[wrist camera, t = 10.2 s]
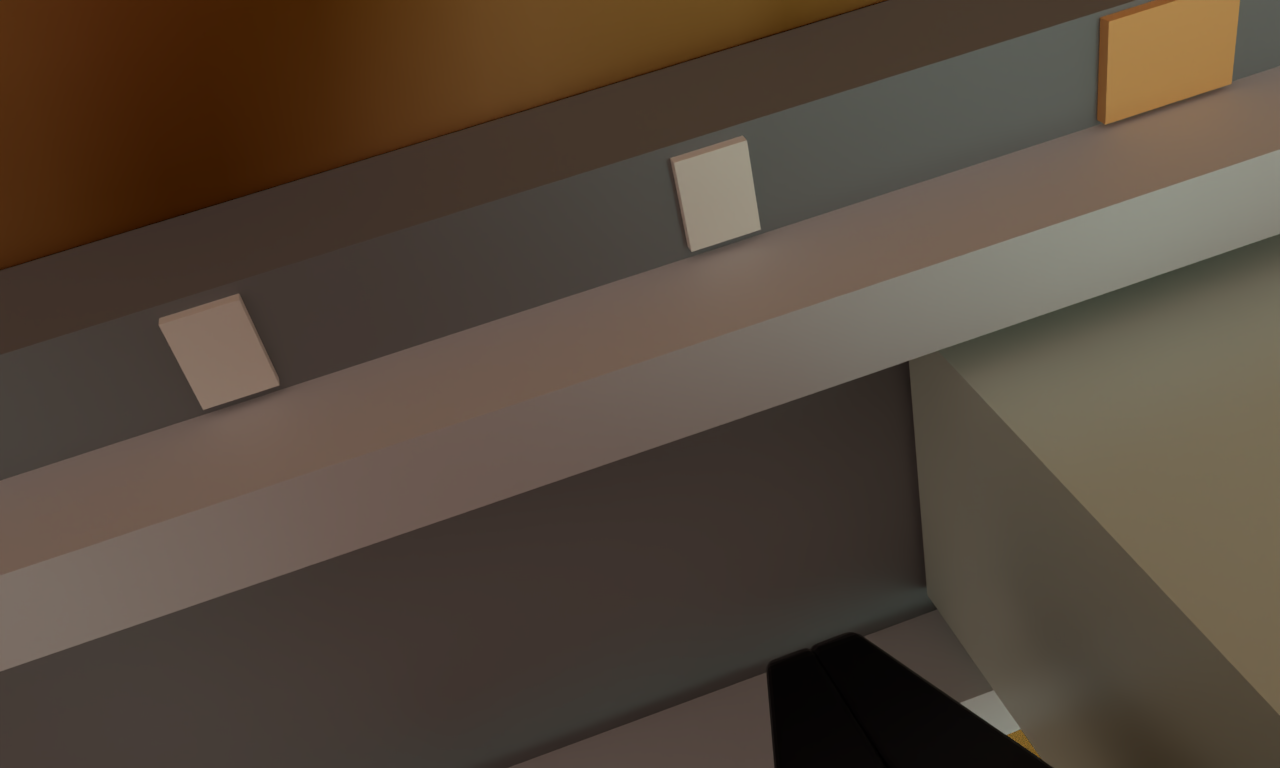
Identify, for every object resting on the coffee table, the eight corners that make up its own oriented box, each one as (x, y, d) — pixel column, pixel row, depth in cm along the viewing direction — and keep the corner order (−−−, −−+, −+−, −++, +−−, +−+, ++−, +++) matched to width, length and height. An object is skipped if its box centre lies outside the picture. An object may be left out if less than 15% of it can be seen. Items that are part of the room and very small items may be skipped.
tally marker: (1259, 472, 13) (1711, 856, 9) (927, 595, 13) (1248, 1055, 9) (1302, 182, 11) (1913, 515, 7) (905, 316, 11) (1316, 755, 7)
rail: (1994, 217, 17) (2247, 307, 15) (-114, 994, 14) (-178, 1254, 12) (2349, -445, 13) (2790, -454, 10) (-699, 484, 9) (-987, 757, 7)
